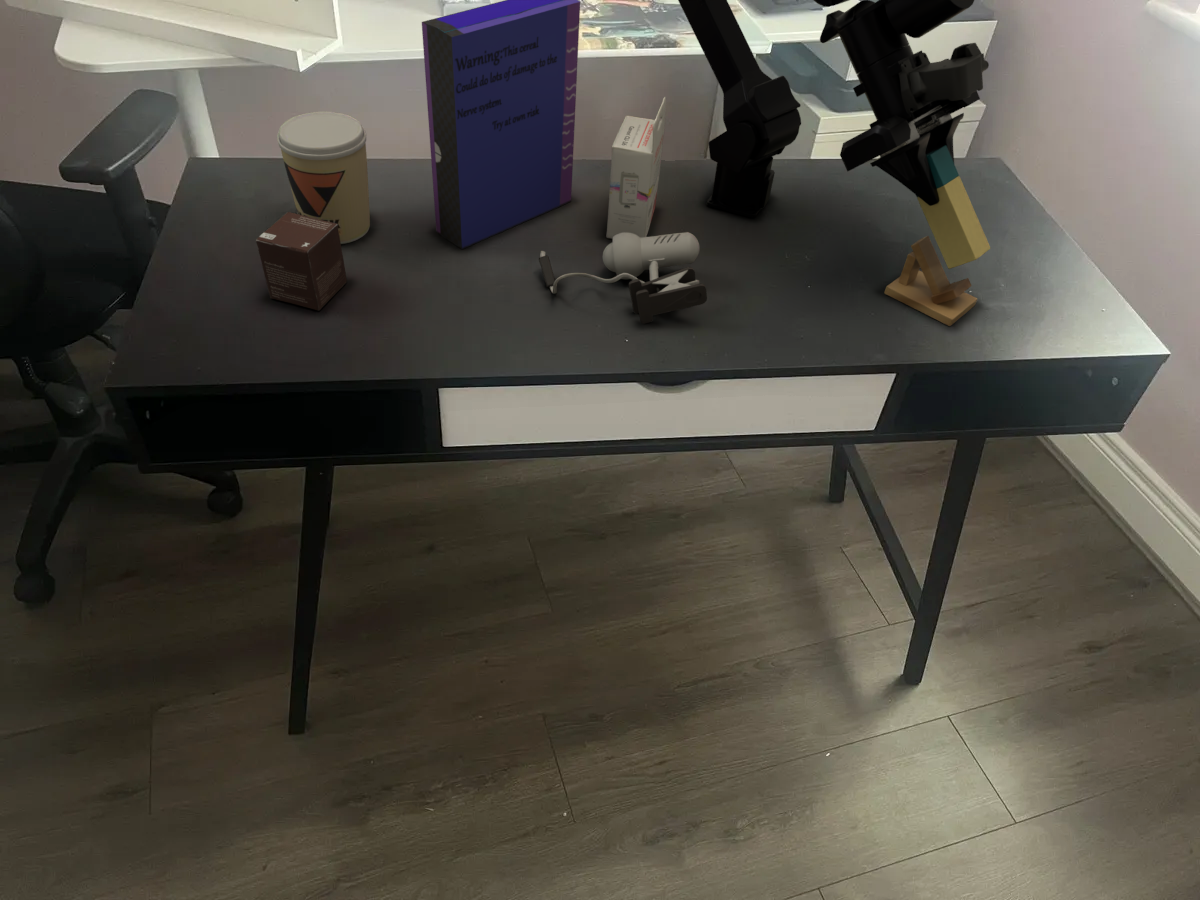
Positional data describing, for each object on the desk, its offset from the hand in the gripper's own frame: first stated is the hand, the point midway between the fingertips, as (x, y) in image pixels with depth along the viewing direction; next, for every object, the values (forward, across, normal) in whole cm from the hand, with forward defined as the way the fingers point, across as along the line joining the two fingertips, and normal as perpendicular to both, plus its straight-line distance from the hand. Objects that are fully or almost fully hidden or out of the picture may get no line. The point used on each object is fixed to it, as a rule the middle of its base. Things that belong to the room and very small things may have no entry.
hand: (943, 198), depth 97 cm
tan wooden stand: (+10, 0, +7) cm, 12 cm away
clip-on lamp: (-7, -26, +24) cm, 36 cm away
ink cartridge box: (-14, -14, +30) cm, 36 cm away
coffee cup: (-29, -41, +46) cm, 68 cm away
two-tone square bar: (+1, 0, 0) cm, 1 cm away
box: (-23, -51, +40) cm, 68 cm away
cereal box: (-21, -25, +38) cm, 50 cm away
